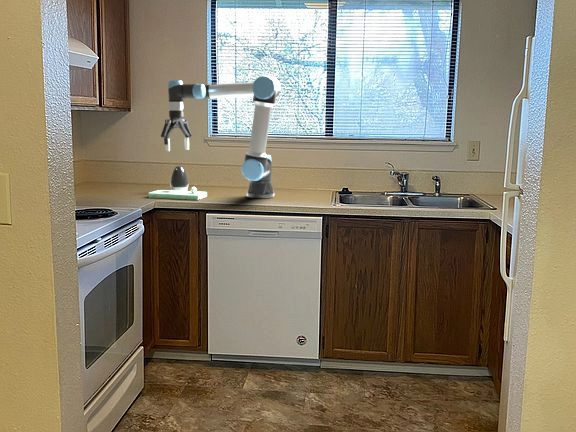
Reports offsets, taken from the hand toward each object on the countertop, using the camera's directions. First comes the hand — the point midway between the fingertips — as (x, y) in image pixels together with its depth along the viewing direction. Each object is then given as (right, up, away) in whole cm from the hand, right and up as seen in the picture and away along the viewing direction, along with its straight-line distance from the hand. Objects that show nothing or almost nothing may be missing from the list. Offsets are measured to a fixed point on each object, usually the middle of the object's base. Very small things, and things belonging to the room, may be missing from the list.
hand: (177, 150), depth 318 cm
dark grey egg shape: (-3, -22, +20) cm, 30 cm away
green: (0, -25, +2) cm, 25 cm away
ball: (+9, -21, 0) cm, 23 cm away
